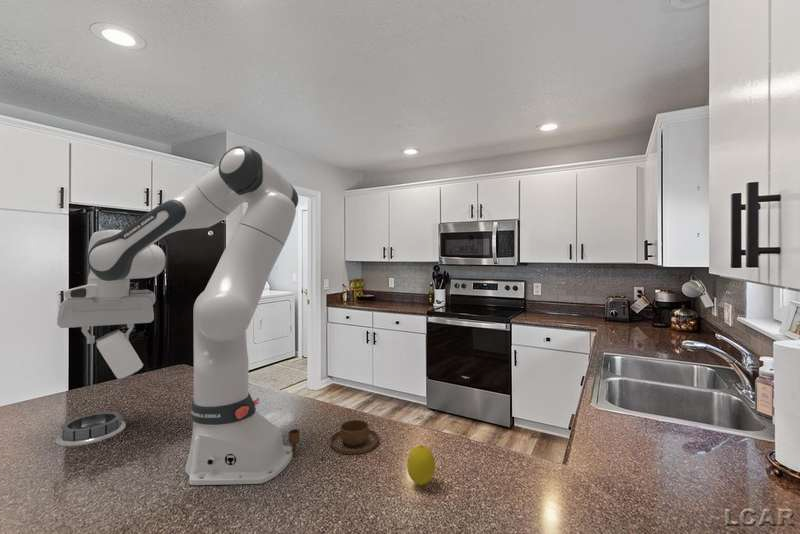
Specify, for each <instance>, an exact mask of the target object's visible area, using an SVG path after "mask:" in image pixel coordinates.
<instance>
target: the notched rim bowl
mask: <svg viewBox="0 0 800 534" xmlns="http://www.w3.org/2000/svg"><path fill="white" fill-rule="evenodd" d="M122 418H123V417H122V414H121V413H120V412H117V411H105V412H96V413H91V414H90V413H89V414H87V415H82V416H80V417H79V416H78V417H76V418H73V419H70V420H67V421H66V422H65V423H63V425H61V426H60V433H59V434H58V435H57V436H56V437H55V444H56V445H58V446H61V447H78V446H85V445H89V444H90V445H91V444H93V443H94V444H95V443H98V442H101V441H104V440H107V439H110V438H112V437H114V436H116V435H118V434H120V433H122V432H123V431H124V430H125V429H126V426H127V424H126V422H125V421H124V420H123V419H122Z"/></svg>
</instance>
